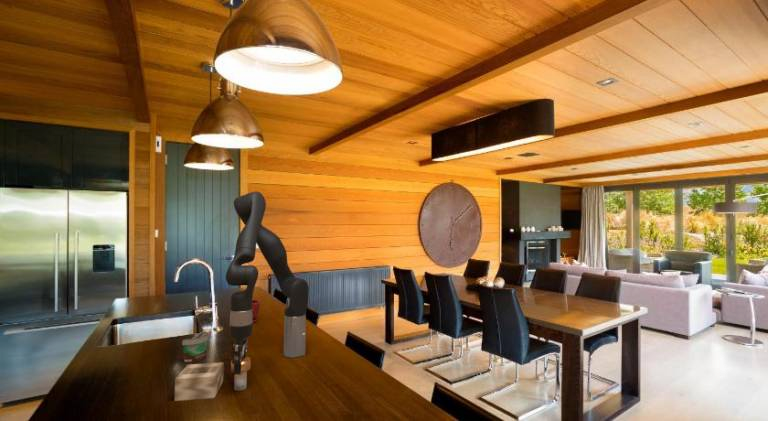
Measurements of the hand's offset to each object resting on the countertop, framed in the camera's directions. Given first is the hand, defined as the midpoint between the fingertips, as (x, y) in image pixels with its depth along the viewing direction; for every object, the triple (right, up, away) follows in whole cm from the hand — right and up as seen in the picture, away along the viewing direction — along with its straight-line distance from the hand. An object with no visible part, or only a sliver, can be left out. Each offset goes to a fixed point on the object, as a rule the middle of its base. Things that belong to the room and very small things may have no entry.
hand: (239, 369), depth 126 cm
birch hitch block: (-12, -6, -3) cm, 14 cm away
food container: (-27, -7, +25) cm, 38 cm away
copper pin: (0, -7, 0) cm, 7 cm away
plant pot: (-28, -9, +82) cm, 87 cm away
